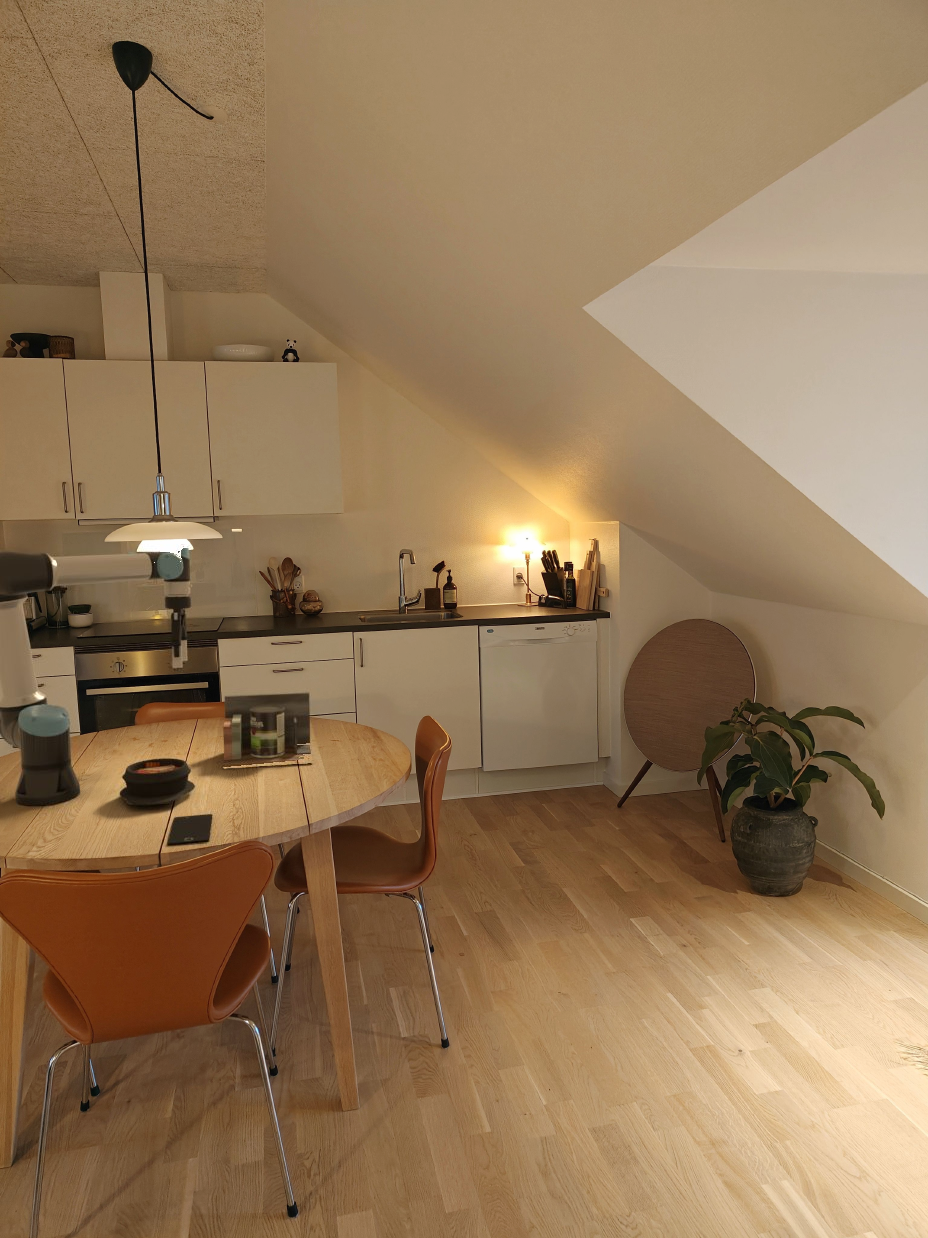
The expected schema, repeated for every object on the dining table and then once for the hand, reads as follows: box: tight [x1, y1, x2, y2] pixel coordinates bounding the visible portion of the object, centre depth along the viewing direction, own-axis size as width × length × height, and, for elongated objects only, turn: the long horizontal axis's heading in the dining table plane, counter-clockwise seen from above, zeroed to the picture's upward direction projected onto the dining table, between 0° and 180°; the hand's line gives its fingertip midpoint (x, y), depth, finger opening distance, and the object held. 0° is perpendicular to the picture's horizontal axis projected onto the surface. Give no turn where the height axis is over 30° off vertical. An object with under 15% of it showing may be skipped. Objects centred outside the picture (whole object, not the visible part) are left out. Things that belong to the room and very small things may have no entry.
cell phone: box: [167, 813, 214, 847], centre depth 192 cm, size 9×18×1 cm, turn 14°
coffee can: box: [250, 705, 285, 758], centre depth 252 cm, size 10×10×14 cm
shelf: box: [222, 691, 312, 768], centre depth 253 cm, size 20×26×18 cm
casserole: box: [119, 757, 196, 806], centre depth 216 cm, size 25×19×8 cm
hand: (180, 664), depth 254 cm, fingers open, 13 cm apart
